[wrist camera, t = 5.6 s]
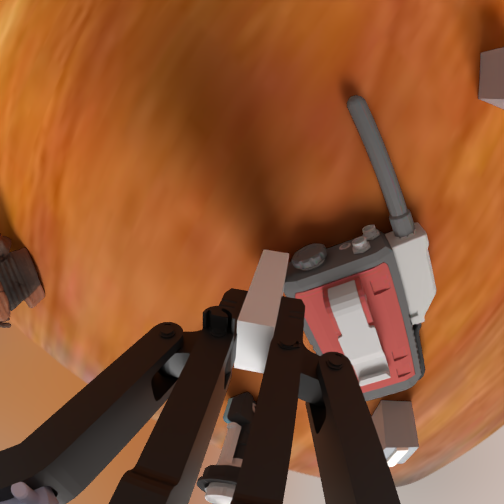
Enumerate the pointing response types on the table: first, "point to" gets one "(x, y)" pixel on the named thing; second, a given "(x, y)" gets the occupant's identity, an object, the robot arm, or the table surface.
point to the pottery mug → (17, 280)
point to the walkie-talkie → (369, 285)
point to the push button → (229, 451)
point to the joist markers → (401, 412)
